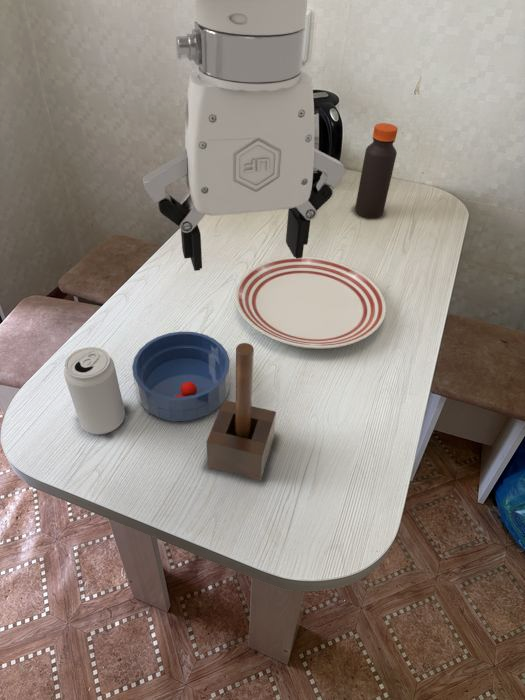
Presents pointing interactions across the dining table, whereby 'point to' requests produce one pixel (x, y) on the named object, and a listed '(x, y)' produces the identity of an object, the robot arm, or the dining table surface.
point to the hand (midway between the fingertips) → (245, 256)
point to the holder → (240, 442)
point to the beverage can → (94, 390)
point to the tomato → (188, 389)
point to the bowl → (181, 375)
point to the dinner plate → (310, 302)
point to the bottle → (377, 172)
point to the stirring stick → (243, 389)
